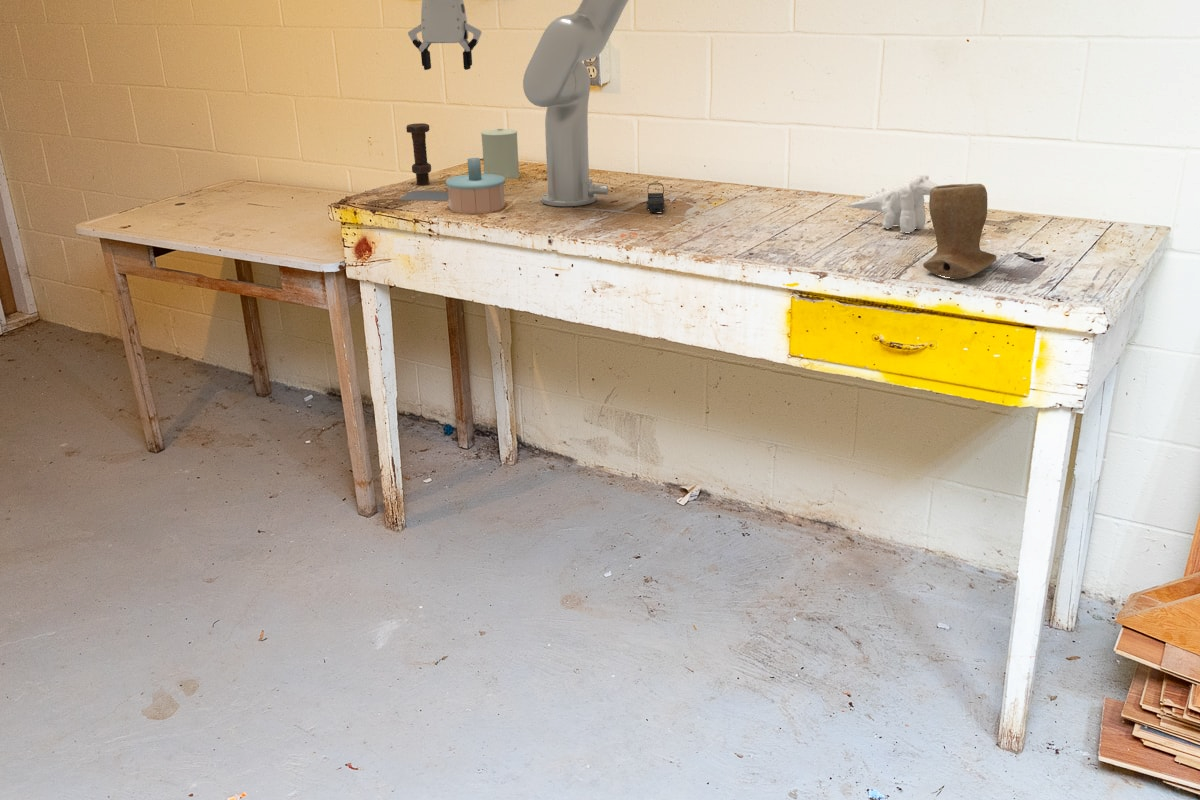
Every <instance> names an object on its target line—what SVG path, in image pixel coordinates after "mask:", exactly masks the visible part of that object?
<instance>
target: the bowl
mask: <svg viewBox="0 0 1200 800" xmlns="http://www.w3.org/2000/svg"><path fill="white" fill-rule="evenodd" d="M447 191H448V199H449V200H448V208H449V210H450V211H451V212H453V213H458V214H465V215H466V214H471V215H472V214H475V215H476V214H477V215H478V214H485V213H488V214H489V213H493V212H496V211H500V210H501V211H502V210H503V211H505V209H506V208H504V207H505V206H506V204H505V187H504V184H502V185H499V186H496V187H491V188H483V189H456V188H451V187H448V186H447Z"/></svg>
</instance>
